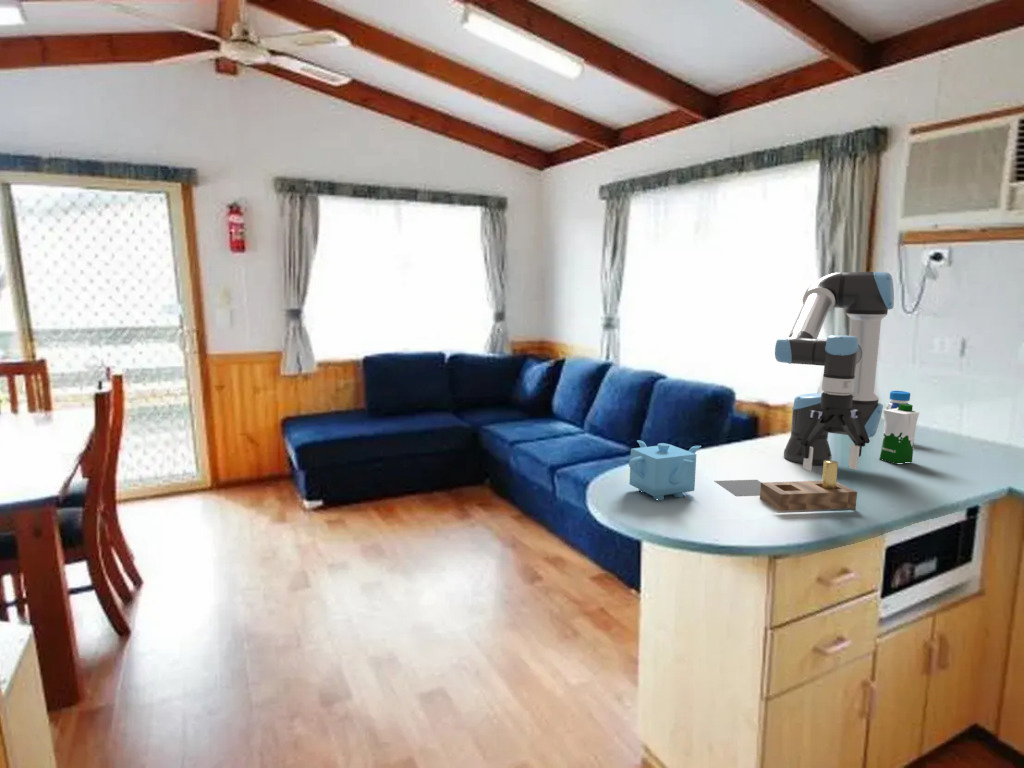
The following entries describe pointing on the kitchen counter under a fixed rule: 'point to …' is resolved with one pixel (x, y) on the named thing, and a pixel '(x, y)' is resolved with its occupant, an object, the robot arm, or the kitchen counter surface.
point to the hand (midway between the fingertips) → (830, 468)
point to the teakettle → (663, 469)
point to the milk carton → (899, 434)
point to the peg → (829, 475)
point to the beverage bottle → (898, 399)
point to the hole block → (806, 496)
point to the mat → (742, 487)
